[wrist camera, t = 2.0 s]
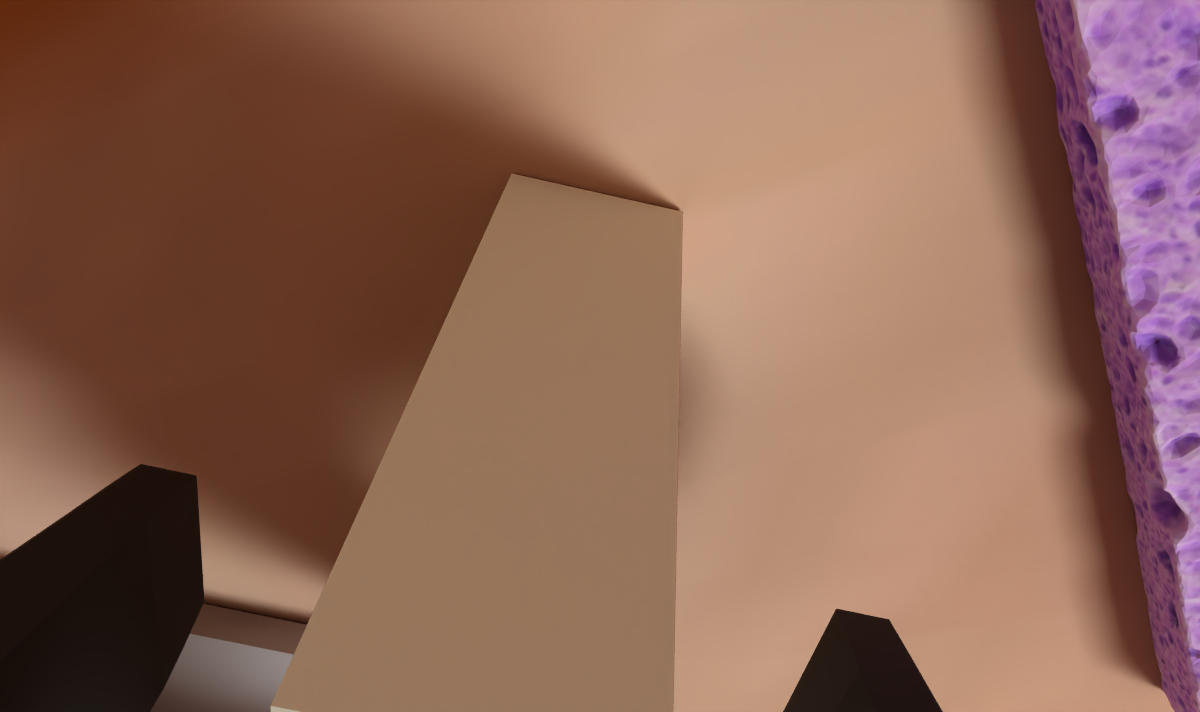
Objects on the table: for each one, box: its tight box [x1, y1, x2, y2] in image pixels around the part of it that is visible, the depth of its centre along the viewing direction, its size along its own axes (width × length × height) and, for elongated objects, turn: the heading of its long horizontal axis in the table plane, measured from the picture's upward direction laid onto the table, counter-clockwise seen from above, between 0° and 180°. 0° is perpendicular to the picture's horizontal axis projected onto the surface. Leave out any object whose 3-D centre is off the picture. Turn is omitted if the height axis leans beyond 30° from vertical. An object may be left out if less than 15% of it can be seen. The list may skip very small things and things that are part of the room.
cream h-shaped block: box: [271, 173, 683, 712], centre depth 10 cm, size 8×2×7 cm, turn 169°
